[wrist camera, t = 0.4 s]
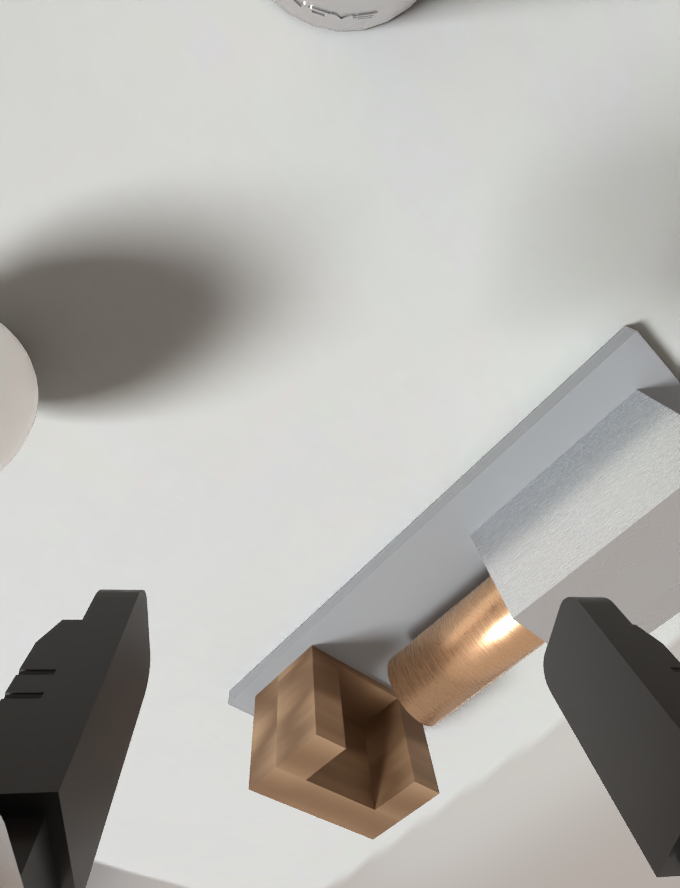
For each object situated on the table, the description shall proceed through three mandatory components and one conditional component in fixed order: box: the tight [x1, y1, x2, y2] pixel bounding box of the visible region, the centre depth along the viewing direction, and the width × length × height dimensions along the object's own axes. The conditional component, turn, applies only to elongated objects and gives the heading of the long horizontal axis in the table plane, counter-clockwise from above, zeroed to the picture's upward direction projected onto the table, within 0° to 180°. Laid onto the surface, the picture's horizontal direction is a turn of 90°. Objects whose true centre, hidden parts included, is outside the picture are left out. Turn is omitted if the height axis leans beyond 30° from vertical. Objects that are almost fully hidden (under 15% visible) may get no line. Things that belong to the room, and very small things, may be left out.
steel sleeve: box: [470, 390, 680, 643], centre depth 27 cm, size 12×7×7 cm, turn 138°
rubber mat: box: [228, 326, 680, 716], centre depth 33 cm, size 34×12×1 cm, turn 138°
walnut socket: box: [249, 646, 439, 839], centre depth 33 cm, size 6×10×6 cm, turn 48°
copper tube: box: [387, 576, 545, 726], centre depth 29 cm, size 18×4×4 cm, turn 138°
